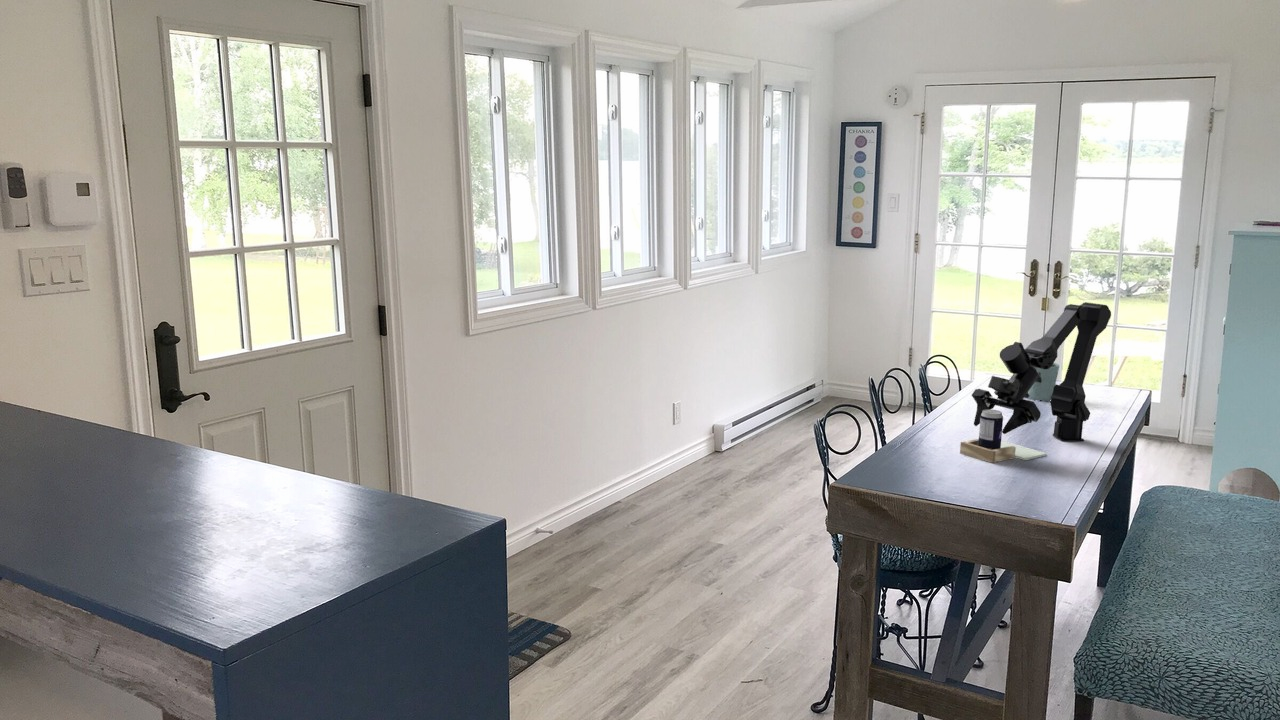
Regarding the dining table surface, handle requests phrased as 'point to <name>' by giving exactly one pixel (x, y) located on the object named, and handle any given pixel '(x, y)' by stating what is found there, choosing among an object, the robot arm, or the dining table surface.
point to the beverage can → (990, 429)
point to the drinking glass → (1044, 384)
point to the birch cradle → (986, 451)
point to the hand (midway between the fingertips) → (988, 429)
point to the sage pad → (1023, 451)
